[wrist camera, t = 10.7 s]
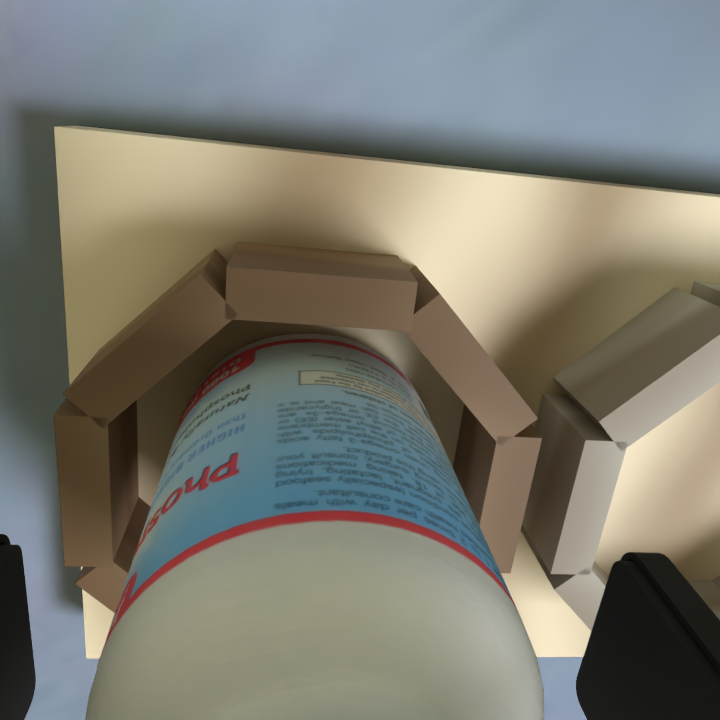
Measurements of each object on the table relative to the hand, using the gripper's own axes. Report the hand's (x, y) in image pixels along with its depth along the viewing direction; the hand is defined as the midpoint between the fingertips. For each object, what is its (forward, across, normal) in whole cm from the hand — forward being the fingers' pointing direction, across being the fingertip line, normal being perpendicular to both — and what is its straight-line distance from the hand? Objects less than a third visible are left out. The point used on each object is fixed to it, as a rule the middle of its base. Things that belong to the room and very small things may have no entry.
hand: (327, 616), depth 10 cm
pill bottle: (+6, 0, 0) cm, 6 cm away
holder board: (+8, -5, 0) cm, 9 cm away
